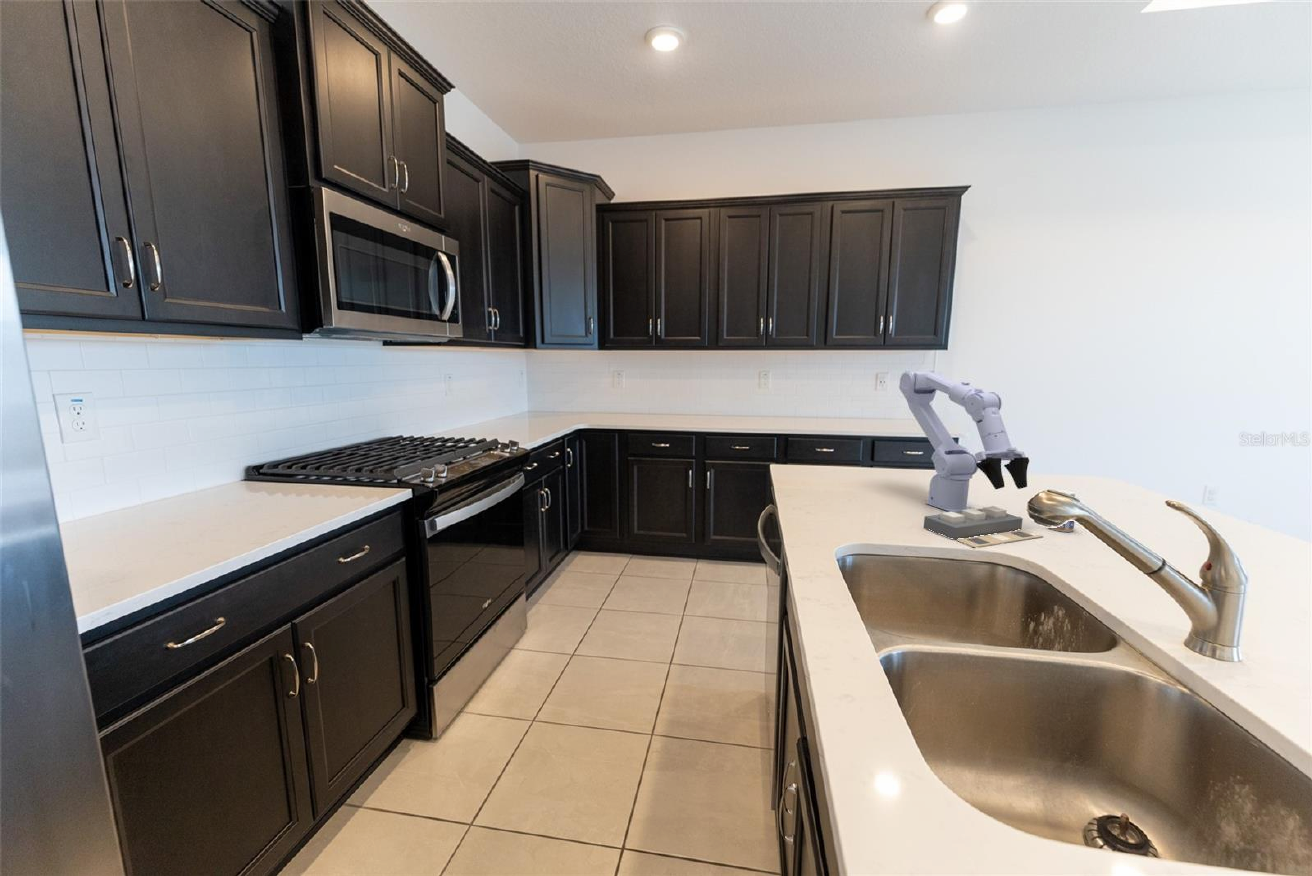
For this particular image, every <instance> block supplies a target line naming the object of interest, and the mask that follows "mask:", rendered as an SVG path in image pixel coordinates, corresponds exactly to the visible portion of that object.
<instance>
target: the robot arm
mask: <svg viewBox="0 0 1312 876" xmlns="http://www.w3.org/2000/svg"><path fill="white" fill-rule="evenodd" d="M898 389H899V391H900V392H901V394H902V395H903V397H904V398H905V400H906V402H907V405H908V408H909V410H910V412H911V414H913V415H912V416H914V418H915V421H916V422H917V423H918V425H919V426H920V428H921V430H922V432H923V433H924V434H925V436H926V438H927V439H928V441H929V442H930V444H931V445H932V447H933V449H934V452H933V453H932V456H931V461H932V462H933V465H934V470H935V472H936V474H934V475H933V476H932V477H931V479H930V482H929V490H928V497H927V499H928V500H927V501H926V502H925V504H927V505H929V506H932V507H935V508H938V509H941V510H943V511H945V512H962V510H968V509H975V508H974V507H971V506H969V505H968V499H969V498H968V496H969V488H970V479H973V475H975V474H977V472H978V469H979V470H980V471H981V472H982V473H983V474H984V475H985V476H986V478H987V479H988V480H989V482H990V484H991V485H992V486H993V488H994V489H995V490H1000V489H1003V488H1005V480H1004V476H1003V472H1002V461H1009V463H1006V464H1004V465H1003V467H1004V468H1005V469H1006V470H1007V471H1008V472H1009V475H1010V476H1011V477H1012V481H1013V482H1014V484H1015V487H1016V489H1018V490H1021V489H1025V488H1027V487H1028V479H1027V478H1028V466H1029V463H1030V458H1029V457H1028V456H1027V457H1026V454H1025V452H1024V451H1020V450H1017V447H1014V446H1012V445H1011V442H1010V439H1009V436H1008V433H1007V430H1006V427H1005V424H1004V422H1003V418H1002V416H1001V413H1000V410H1001V409H1002V404H1003V402H1002V399H1001V397H1000V396H999V394H998V393H996V392H995V391H990V392H984V391H983V389H982V388H979V387H977V388H976V387H974V386H972V385H970V382H969V381H960V382H956V383H955V382H953V381H952V380H950V379H949V378H946V377H945V376H943V375H941V372H937V371H935V370H927V371H926V370H925V371H924V370H923V371H919V370H918V371H917V370H916V371H911V370H905V371H904V372H903V373H902V374H901V375H900V379H899V386H898ZM937 391H939V392H941V393H944V394H946V395H948V399H949V401H951V402H953V403H955V404H957V405H959V406H961V407H963V408H964V409H965V412H966V413H967V414H968V416H971V417H970V418H971V419H972V421H973V422H975V426H976V428H977V431H978V434H979V437H980V440H981V444H982V445H983V446H982V447H983V449H984V450H981V451H978V452H976V453H974V454H973V453H971V451H969V449H968V448H966V447H965V446H962V445H961V444H959V443H957V442H955V440H954V438H953V437H952V435H951V433H950V432H949V431H948V429H947V428H946V426H945V425H944V423H943V422H942V421H941V418H940V417H939V415H938V414H937V413H936V411H935V410H934V408H933V406H932V405H931V402H932V401H934V399H935V397H936V393H937Z"/></svg>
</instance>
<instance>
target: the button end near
mask: <svg viewBox="0 0 1312 876" xmlns="http://www.w3.org/2000/svg"><path fill="white" fill-rule="evenodd" d="M940 514H941V517H940V519H941V520H943V521H946V522H949V523H951V524H957V523H964V517H965V516H964V515H961V514H958V513H955V512H949V511H945V512H940Z"/></svg>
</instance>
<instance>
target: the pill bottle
mask: <svg viewBox="0 0 1312 876" xmlns="http://www.w3.org/2000/svg"><path fill="white" fill-rule="evenodd" d="M1056 490H1057V491H1059V492H1065V493H1067V494H1070V495H1071V496H1073V497H1076V493H1075V492H1074V491H1071V490H1068V489H1066V490H1065V489H1056ZM1075 523H1076V521H1075V522H1074V521H1068V522H1067V523H1066V524H1063V525H1062V526H1060V527H1057V528H1051V529H1050V530H1052V531H1055V530H1056V531H1057V532H1063V533H1071V532H1073V531H1074V529H1075ZM1056 531H1055V532H1056Z"/></svg>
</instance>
